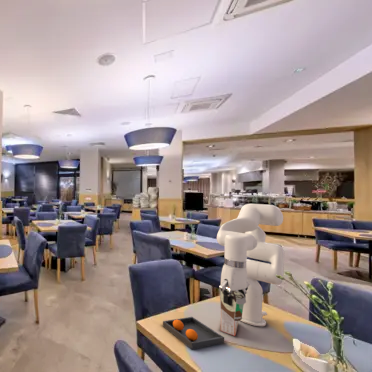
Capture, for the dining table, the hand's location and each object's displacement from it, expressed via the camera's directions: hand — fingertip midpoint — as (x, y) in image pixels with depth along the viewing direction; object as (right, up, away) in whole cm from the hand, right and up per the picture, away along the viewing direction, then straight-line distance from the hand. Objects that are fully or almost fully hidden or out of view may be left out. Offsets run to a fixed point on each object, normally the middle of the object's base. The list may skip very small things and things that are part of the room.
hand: (234, 302), depth 102 cm
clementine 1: (-19, -16, +10) cm, 27 cm away
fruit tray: (-14, -19, +7) cm, 25 cm away
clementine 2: (-17, -16, +2) cm, 24 cm away
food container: (0, -6, 0) cm, 6 cm away
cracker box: (+8, -19, +13) cm, 25 cm away
